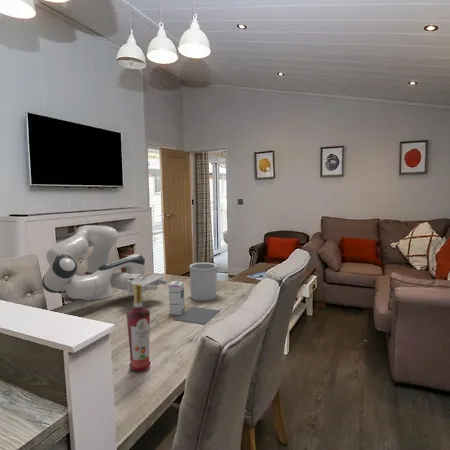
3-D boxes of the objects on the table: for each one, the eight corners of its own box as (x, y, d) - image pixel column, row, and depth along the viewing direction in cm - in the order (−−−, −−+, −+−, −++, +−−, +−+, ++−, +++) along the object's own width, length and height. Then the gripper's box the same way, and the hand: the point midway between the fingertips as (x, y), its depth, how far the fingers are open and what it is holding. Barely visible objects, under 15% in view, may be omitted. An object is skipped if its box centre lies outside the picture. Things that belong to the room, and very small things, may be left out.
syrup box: (181, 315, 164) (180, 284, 162) (169, 314, 165) (168, 284, 164) (184, 310, 170) (184, 281, 168) (173, 310, 171) (172, 280, 169)
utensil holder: (221, 299, 187) (221, 266, 185) (194, 302, 181) (193, 269, 179) (212, 291, 200) (211, 261, 198) (186, 294, 195) (186, 263, 193)
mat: (174, 320, 158) (174, 319, 158) (192, 307, 174) (192, 306, 174) (204, 324, 152) (204, 323, 152) (220, 310, 169) (220, 310, 169)
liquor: (133, 376, 111) (130, 289, 108) (125, 366, 117) (122, 284, 114) (155, 369, 115) (152, 285, 112) (146, 360, 121) (143, 281, 118)
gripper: (149, 283, 189) (171, 285, 184) (125, 294, 170) (150, 297, 165) (149, 272, 189) (171, 274, 184) (125, 281, 170) (149, 284, 165)
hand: (161, 285), depth 174 cm, fingers open, 8 cm apart
